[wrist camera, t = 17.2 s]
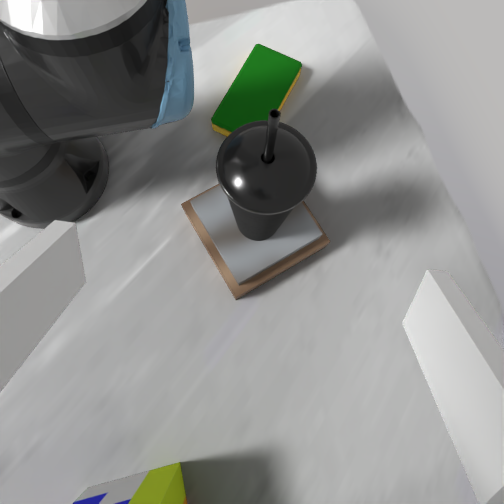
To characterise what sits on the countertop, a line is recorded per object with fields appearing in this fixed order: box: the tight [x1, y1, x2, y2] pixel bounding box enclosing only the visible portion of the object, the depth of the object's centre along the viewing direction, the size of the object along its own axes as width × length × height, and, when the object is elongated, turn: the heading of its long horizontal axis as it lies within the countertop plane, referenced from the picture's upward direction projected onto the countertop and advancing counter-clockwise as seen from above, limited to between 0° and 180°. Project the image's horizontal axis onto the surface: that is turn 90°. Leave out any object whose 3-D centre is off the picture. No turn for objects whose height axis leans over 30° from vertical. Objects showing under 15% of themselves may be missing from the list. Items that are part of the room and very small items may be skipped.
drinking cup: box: [216, 109, 317, 241], centre depth 30 cm, size 8×8×20 cm
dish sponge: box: [211, 44, 302, 137], centre depth 48 cm, size 7×14×2 cm, turn 153°
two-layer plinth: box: [181, 184, 330, 300], centre depth 42 cm, size 13×13×5 cm
